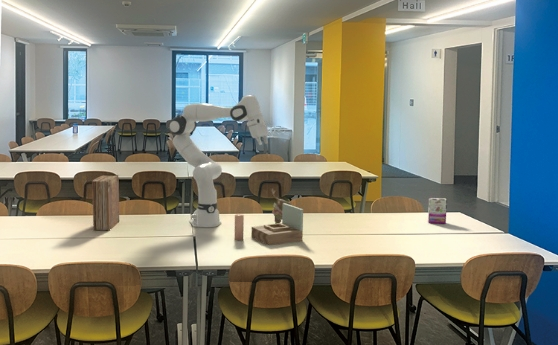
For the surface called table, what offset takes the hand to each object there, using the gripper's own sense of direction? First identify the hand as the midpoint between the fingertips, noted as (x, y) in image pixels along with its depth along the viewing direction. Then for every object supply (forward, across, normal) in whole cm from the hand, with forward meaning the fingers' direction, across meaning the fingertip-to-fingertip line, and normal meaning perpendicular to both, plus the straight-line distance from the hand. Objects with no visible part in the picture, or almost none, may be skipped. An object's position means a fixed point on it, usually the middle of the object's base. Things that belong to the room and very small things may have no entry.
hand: (263, 144), depth 323 cm
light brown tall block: (+48, +24, -23) cm, 58 cm away
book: (+19, +26, -104) cm, 109 cm away
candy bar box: (+83, -67, +74) cm, 130 cm away
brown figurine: (+52, -10, -10) cm, 54 cm away
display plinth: (+54, +14, -5) cm, 56 cm away
